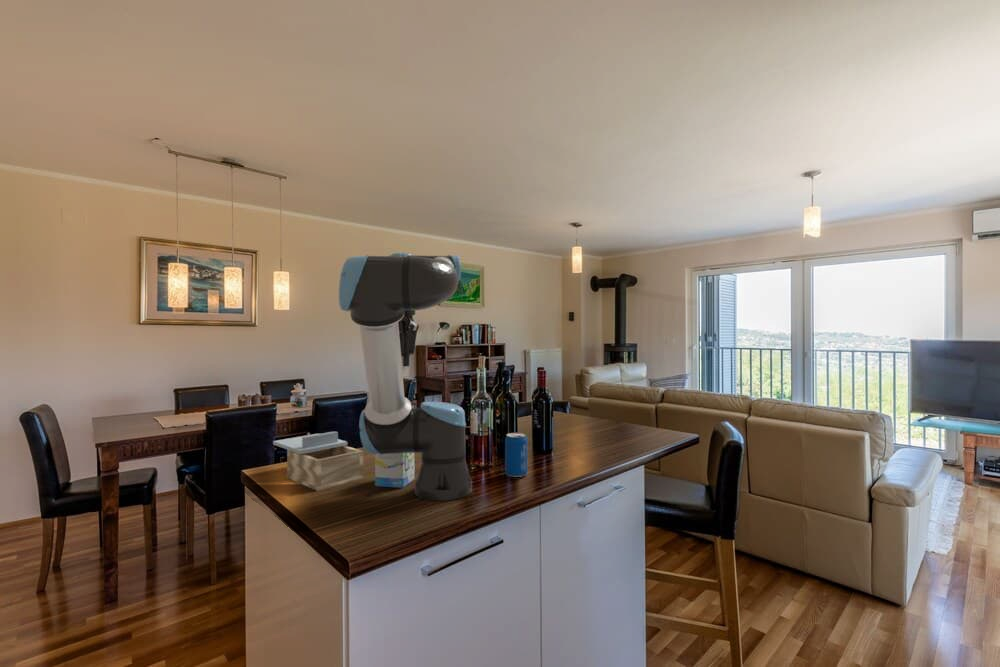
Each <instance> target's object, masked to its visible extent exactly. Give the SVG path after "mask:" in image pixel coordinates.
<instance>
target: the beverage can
mask: <svg viewBox="0 0 1000 667" xmlns="http://www.w3.org/2000/svg"><path fill="white" fill-rule="evenodd" d="M504 456H505V457H504V473H505V475H506V476H507V477H509V476H513V477H520V476H524V475H525V476H526V475H527V474H528V438H527V436H526V434H525V433H524V432H523V433H522V432H510V433H507V434H506V437H505V438H504ZM525 476H524V477H525Z"/></svg>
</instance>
